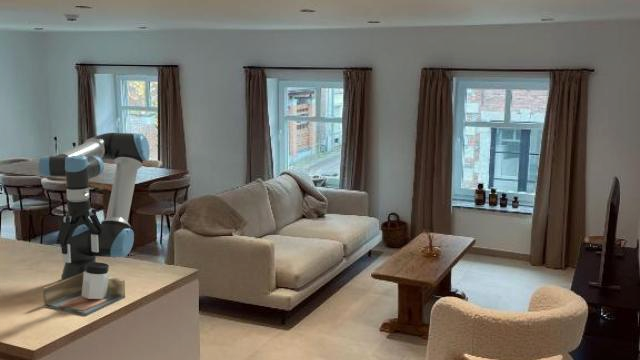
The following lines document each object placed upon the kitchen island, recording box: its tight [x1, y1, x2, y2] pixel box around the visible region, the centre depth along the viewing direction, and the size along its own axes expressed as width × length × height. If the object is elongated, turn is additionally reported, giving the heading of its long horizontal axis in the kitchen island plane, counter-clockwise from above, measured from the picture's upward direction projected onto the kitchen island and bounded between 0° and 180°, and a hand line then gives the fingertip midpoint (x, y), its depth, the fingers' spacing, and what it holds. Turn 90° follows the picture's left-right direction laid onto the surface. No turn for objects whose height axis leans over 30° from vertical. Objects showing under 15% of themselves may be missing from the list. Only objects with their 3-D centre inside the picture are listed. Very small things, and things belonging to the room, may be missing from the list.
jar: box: [81, 261, 110, 299], centre depth 236 cm, size 9×8×12 cm
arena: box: [42, 272, 126, 317], centre depth 234 cm, size 20×20×7 cm
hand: (81, 256), depth 228 cm, fingers open, 13 cm apart
